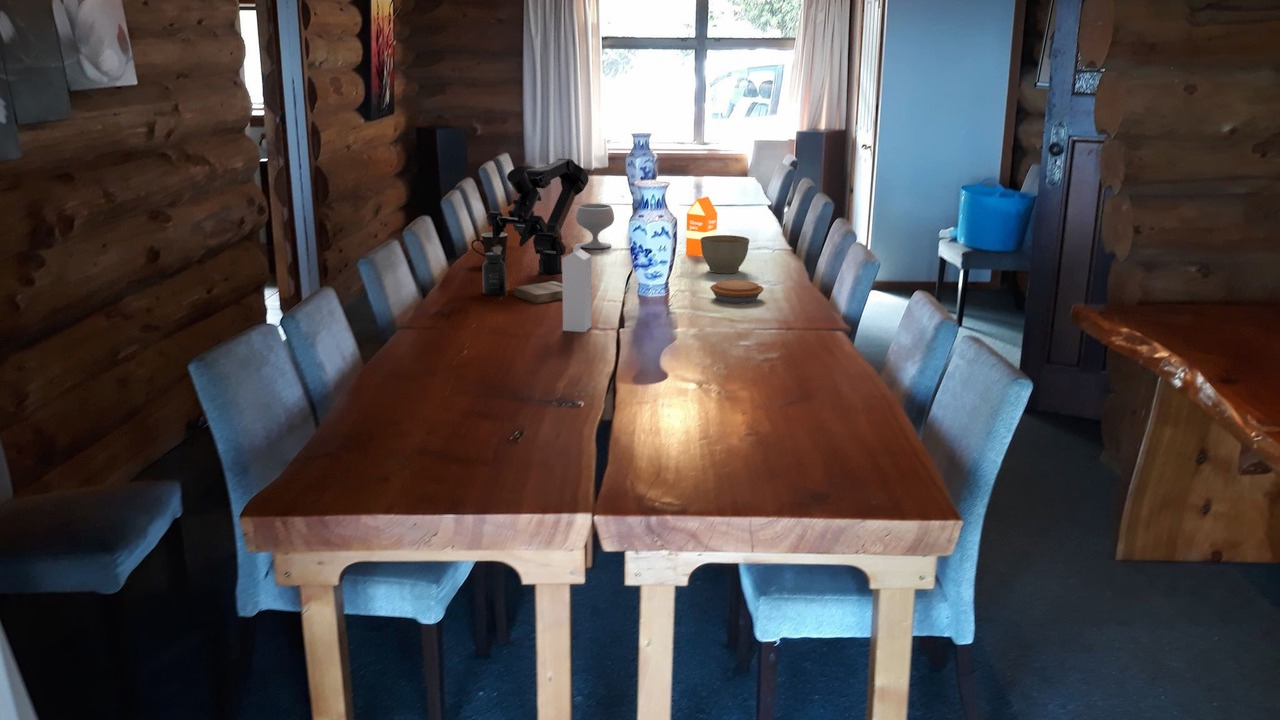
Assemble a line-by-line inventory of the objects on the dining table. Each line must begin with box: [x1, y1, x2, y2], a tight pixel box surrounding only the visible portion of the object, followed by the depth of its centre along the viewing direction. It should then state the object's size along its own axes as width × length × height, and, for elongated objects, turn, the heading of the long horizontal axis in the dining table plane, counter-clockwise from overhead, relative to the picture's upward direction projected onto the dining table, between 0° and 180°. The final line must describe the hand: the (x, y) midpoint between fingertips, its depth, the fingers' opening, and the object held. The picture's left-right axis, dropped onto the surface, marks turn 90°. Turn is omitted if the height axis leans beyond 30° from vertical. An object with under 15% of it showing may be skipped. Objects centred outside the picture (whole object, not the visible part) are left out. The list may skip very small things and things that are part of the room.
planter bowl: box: [700, 234, 750, 275], centre depth 337 cm, size 16×16×11 cm
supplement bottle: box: [481, 252, 507, 296], centre depth 302 cm, size 7×7×12 cm
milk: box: [561, 242, 592, 333], centre depth 262 cm, size 6×6×22 cm
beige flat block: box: [513, 280, 563, 304], centre depth 300 cm, size 14×12×3 cm
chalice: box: [575, 203, 615, 250], centre depth 377 cm, size 14×14×15 cm
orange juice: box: [685, 196, 718, 257], centre depth 365 cm, size 8×9×20 cm
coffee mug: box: [470, 232, 509, 265], centre depth 344 cm, size 12×9×10 cm
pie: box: [709, 279, 765, 305], centre depth 299 cm, size 15×16×5 cm
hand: (506, 244), depth 306 cm, fingers open, 9 cm apart
